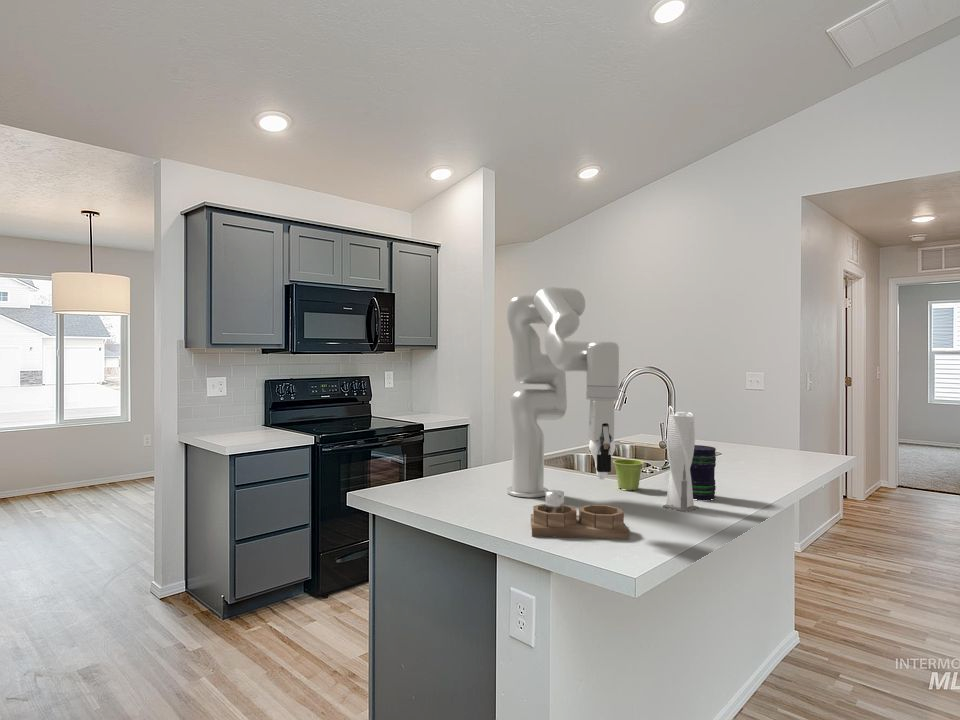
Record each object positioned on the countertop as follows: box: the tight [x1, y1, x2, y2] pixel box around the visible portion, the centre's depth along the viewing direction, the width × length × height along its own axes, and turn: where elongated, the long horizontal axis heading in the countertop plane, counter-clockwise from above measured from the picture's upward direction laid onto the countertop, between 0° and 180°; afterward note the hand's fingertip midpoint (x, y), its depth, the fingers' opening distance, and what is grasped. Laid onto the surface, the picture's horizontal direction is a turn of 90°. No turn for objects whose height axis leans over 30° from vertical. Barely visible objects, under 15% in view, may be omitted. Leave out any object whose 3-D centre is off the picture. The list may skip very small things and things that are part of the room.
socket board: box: [530, 503, 630, 540], centre depth 141 cm, size 12×22×5 cm, turn 87°
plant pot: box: [612, 458, 645, 491], centre depth 187 cm, size 9×9×9 cm
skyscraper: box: [662, 405, 700, 513], centre depth 165 cm, size 8×8×28 cm
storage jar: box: [690, 444, 717, 501], centre depth 177 cm, size 10×10×15 cm
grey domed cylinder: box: [544, 489, 565, 513], centre depth 141 cm, size 4×4×7 cm
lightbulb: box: [588, 436, 616, 480], centre depth 140 cm, size 6×6×11 cm
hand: (601, 468), depth 140 cm, fingers closed on lightbulb, 5 cm apart
